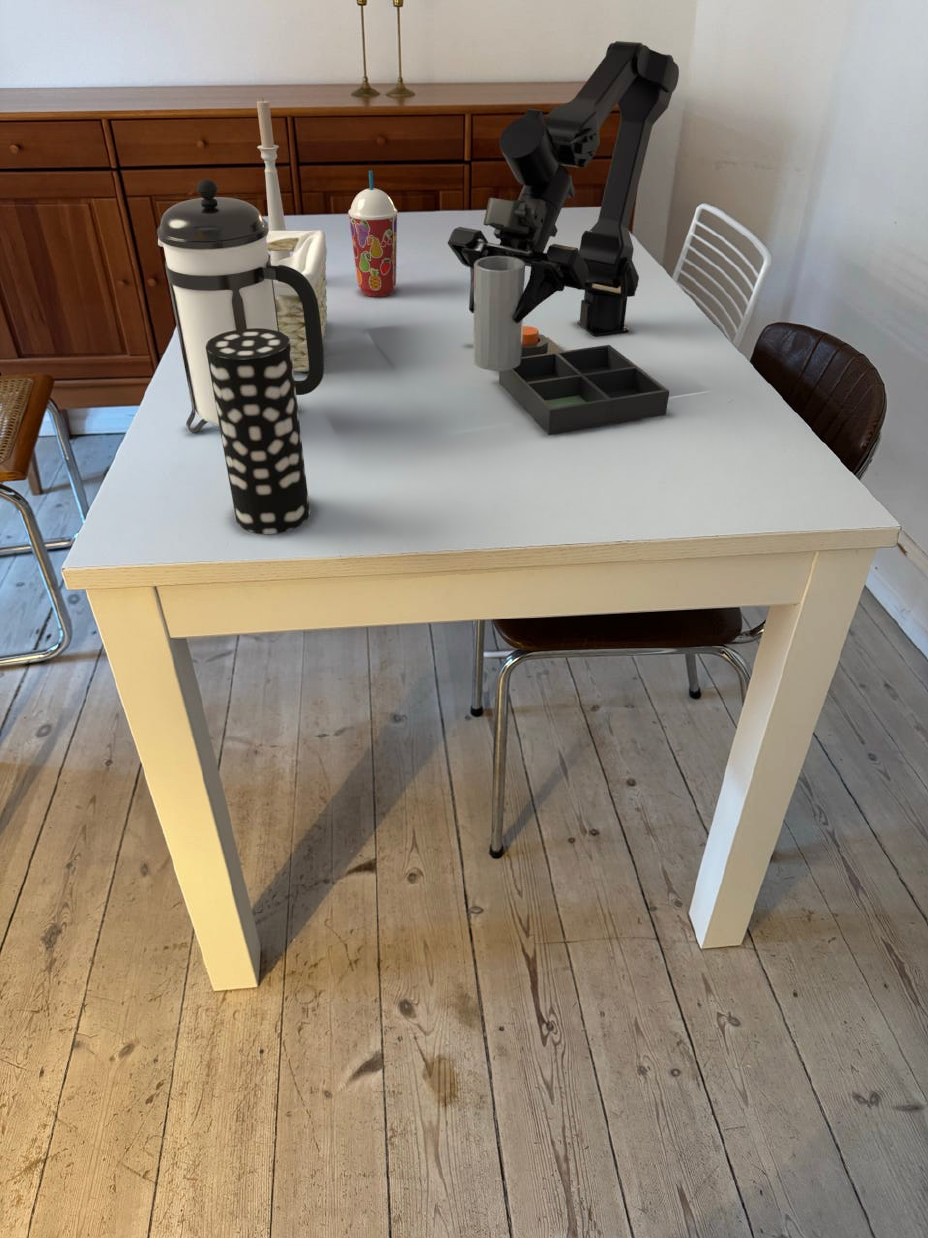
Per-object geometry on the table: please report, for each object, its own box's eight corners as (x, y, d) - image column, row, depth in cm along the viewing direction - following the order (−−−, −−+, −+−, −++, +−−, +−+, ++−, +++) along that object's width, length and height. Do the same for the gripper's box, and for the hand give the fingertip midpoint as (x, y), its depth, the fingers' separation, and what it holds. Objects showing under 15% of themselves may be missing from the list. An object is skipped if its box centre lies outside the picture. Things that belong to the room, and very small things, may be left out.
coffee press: (199, 458, 114) (149, 202, 96) (177, 407, 126) (129, 170, 108) (332, 433, 120) (309, 187, 101) (299, 387, 131) (274, 158, 113)
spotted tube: (240, 497, 107) (211, 329, 95) (311, 494, 107) (292, 327, 95) (231, 535, 100) (200, 360, 88) (308, 532, 101) (287, 358, 89)
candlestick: (241, 278, 170) (215, 94, 152) (308, 269, 174) (290, 90, 156) (257, 299, 161) (231, 106, 143) (327, 290, 165) (311, 101, 147)
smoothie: (407, 287, 166) (403, 167, 154) (390, 301, 160) (383, 178, 148) (365, 282, 169) (358, 163, 156) (346, 296, 162) (337, 174, 150)
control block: (547, 344, 145) (548, 326, 143) (569, 363, 139) (570, 344, 137) (482, 353, 142) (483, 334, 140) (501, 373, 136) (502, 353, 134)
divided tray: (607, 367, 138) (609, 344, 135) (666, 414, 125) (669, 390, 122) (498, 383, 133) (499, 359, 131) (548, 434, 120) (549, 409, 118)
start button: (532, 335, 140) (533, 324, 139) (541, 344, 138) (542, 332, 137) (510, 338, 139) (511, 327, 138) (519, 347, 137) (520, 335, 136)
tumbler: (503, 348, 128) (505, 252, 120) (530, 364, 124) (534, 265, 115) (464, 358, 125) (464, 261, 117) (491, 374, 121) (493, 274, 113)
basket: (239, 320, 153) (225, 227, 144) (336, 319, 153) (328, 227, 144) (211, 378, 134) (192, 276, 125) (322, 377, 134) (311, 275, 125)
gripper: (454, 159, 116) (407, 271, 116) (585, 178, 108) (535, 298, 108) (486, 211, 127) (443, 314, 126) (608, 232, 119) (562, 341, 118)
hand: (492, 316), depth 119 cm, fingers closed on tumbler, 6 cm apart
